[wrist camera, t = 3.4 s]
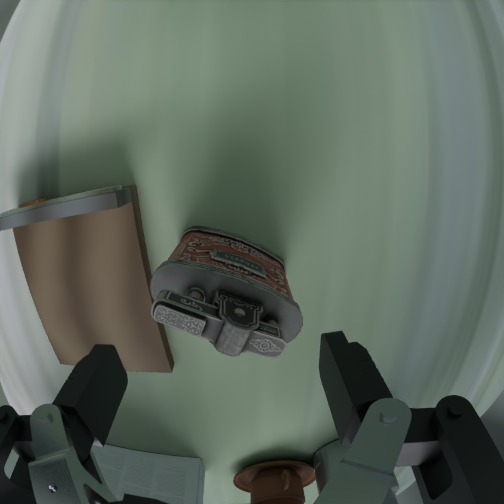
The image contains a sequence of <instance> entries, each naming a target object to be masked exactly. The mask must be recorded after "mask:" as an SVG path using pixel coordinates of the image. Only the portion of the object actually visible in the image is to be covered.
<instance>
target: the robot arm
mask: <svg viewBox="0 0 504 504" xmlns="http://www.w3.org/2000/svg"><path fill="white" fill-rule="evenodd" d="M319 372H320V378H321V382H322V385H323V388H324V391H325V394H326V397H327V401H328V404H329V407H330V410H331V413H332V417H333V420H334V423H335V426H336V430H337V433H338V436H339V440H337V441H334V442H332V443H330V444H328V445H326V446H324V447H323V448H321V449H320V450H319V451H317V452H316V453H315V455H314V456H313V458H312V462H313V467H314V473H315V477H316V482H317V488H318V493H319V496H318V498H317V499H316V500H315V502H314V503H313V504H399V503H398V501H397V498H396V495H395V493H396V492H397V491H398V489H399V484H398V482H397V479H396V476H395V474H394V468H395V467H399V466H411V467H412V470H413V473H414V475H415V478H416V481H417V484H418V487H419V490H420V493H421V497H422V499H423V503H424V504H504V461H503V459H502V457H501V455H500V453H499V451H498V449H497V448H496V446H495V444H494V442H493V440H492V438H491V437H490V435H489V433H488V431H487V430H486V428H485V426H484V425H483V423H482V421H481V419H480V418H479V416H478V414H477V413H476V411H475V409H474V408H473V406H472V405H471V403H470V402H469V401H468V400H467V399H465V398H463V397H461V396H457V395H450V396H446V397H444V398H442V399H441V400H440V401H439V402H438V404H437V406H436V408H419V409H414V408H409V407H408V405H407V404H406V403H404V402H403V401H401V400H398V399H395V398H393V396H392V395H391V393H390V391H389V389H388V387H387V385H386V383H385V382H384V380H383V378H382V376H381V374H380V373H379V371H378V369H377V368H376V365H375V363H374V362H373V361H372V358H371V356H370V355H369V353H368V351H367V349H366V348H364V347H363V346H362V345H360V344H359V343H358V342H352V343H348V341H347V339H346V337H345V335H344V333H343V332H342V331H336V332H329V333H322V335H321V344H320V358H319ZM127 382H128V379H127V373H126V371H125V368H124V366H123V364H122V361H121V359H120V357H119V354H118V352H117V349H116V347H115V346H114V345H112V344H95V345H94V346H93V348H92V350H91V351H90V353H89V354H88V355H86V356H85V357H83V358H82V359H81V360H80V361H79V362H77V364H76V366H75V367H74V369H73V370H72V373H70V375H69V377H68V380H66V382H65V383H64V385H63V386H62V388H61V390H60V391H59V393H58V395H57V396H56V398H55V400H54V402H53V403H52V404H43V405H41V406H39V407H37V408H36V409H35V410H34V411H33V413H32V414H31V415H18V414H17V412H16V411H15V410H14V408H13V407H11V406H9V405H4V406H1V407H0V504H168V503H165V502H163V501H160V500H157V499H153V498H147V497H141V496H136V495H131V494H126V493H124V496H123V500H121V501H118V500H117V499H116V498H115V496H114V495H113V494H112V493H111V491H110V490H109V488H108V486H107V484H106V482H105V480H104V477H103V475H102V473H101V471H100V468H99V466H98V463H97V461H96V459H95V456H94V454H93V452H92V451H91V448H92V445H96V446H100V447H104V445H105V442H106V439H107V437H108V434H109V431H110V428H111V426H112V423H113V420H114V418H115V415H116V413H117V410H118V407H119V405H120V402H121V400H122V397H123V395H124V392H125V390H126V387H127ZM12 449H13V450H14V451H15V452H16V453H17V454H18V455H19V458H18V461H17V463H16V466H15V468H14V470H13V473H12V475H11V478H10V479H9V478H8V477H7V476H6V475H5V472H4V466H5V463H6V461H7V459H8V457H9V454H10V452H11V450H12ZM253 504H266V503H253Z"/></svg>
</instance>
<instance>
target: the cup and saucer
mask: <svg viewBox="0 0 504 504" xmlns="http://www.w3.org/2000/svg"><path fill="white" fill-rule="evenodd" d="M315 479H316V477H315V473H314V467H313V466H312V465H309V464H307V463H304V462H300V461H294V460H275V461H267V462H262V463H258V464H254V465H251V466H249V467H246V468H244V469H243V470H241V471H240V472H238V473H237V474H236V475H235V477H234V481H233V482H234V485H235V486H236V487H237V488H239V489H241V490H243V491H246V492H249V493H251V504H253V503H266V504H304V503H305V496H304V490H303V487H306V486H308V485H309V484H311V483H312V482H313V481H315Z"/></svg>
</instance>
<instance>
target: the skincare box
mask: <svg viewBox="0 0 504 504" xmlns="http://www.w3.org/2000/svg"><path fill="white" fill-rule="evenodd" d="M91 451H92V452H93V454H94V456H95V459H96V461H97V463H98V466H99V468H100V471H101V473H102V475H103V477H104V480H105V482H106V484H107V486H108V488H109V490H110V491H111V493H112V494H113V495H114V496H115V498H116V499H117V500H118V501H121V500H123V496H124V493H126V494H131V495H136V496H141V497H147V498H153V499H157V500H160V501H163V502H165V503H168V504H203V493H204V478H205V469H204V467H203V463H202V460H201V459H200V458H192V457H180V456H170V455H162V454H156V453H149V452H142V451H137V450H131V449H126V448H121V447H116V446H111V445H107V444H105V445H104V447H100V446H96V445H92V448H91Z"/></svg>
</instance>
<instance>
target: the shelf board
mask: <svg viewBox="0 0 504 504" xmlns="http://www.w3.org/2000/svg"><path fill="white" fill-rule="evenodd" d="M0 215H1V217H0V231H1V230H5V229H10V228H13V232H14V236H15V241H16V245H17V249H18V253H19V257H20V260H21V264H22V267H23V271H24V274H25V277H26V281H27V284H28V287H29V290H30V293H31V296H32V298H33V301H34V304H35V307H36V309H37V312H38V315H39V317H40V320H41V322H42V324H43V327H44V329H45V332H46V334H47V336H48V338H49V341H50V343H51V345H52V347H53V349H54V351H55V354H56V356H57V358H58V360H59V362H60V364H66V365H73V366H76V364H77V362H79V361H80V360H81V359H82V358H83V357H85V356H86V355H88V354H89V353H90V351H91V350H92V348H93V346H94V345H95V344H112V345H114V346H115V347H116V349H117V352H118V354H119V357H120V359H121V361H122V364H123V366H124V368H125V371H139V372H168V373H172V370H173V367H174V362H173V358H172V355H171V351H170V348H169V344H168V341H167V337H166V334H165V330H164V326H163V324H162V323H160V322H158V321H156V320H155V319H154V318H153V317H152V315H151V309H152V305H153V303H154V299H153V297H152V295H151V291H150V283H151V279H152V276H151V271H150V266H149V261H148V256H147V251H146V246H145V240H144V235H143V229H142V223H141V217H140V210H139V203H138V196H137V189H136V186H130V187H124V188H122V186H121V185H117V186H112V187H106V188H101V189H96V190H91V191H86V192H81V193H77V194H72V195H68V196H63V197H59V198H55V199H51V200H48V197H46V198H42V199H38V200H34V201H31V202H27V203H24V204H21V205H20V208H16V209H13V210H9V211H7V212H4V213H1V214H0Z"/></svg>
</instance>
